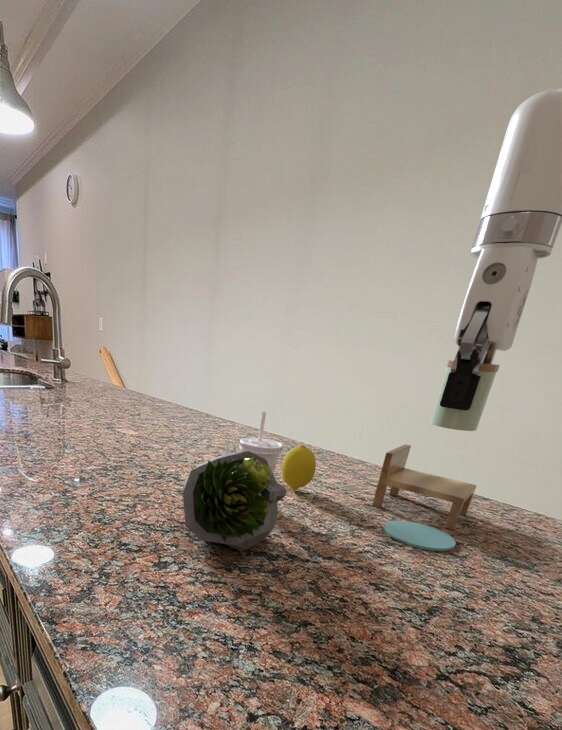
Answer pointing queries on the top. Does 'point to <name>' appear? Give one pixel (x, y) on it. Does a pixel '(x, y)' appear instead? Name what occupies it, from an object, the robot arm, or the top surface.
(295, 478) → the lemon
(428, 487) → the toy wooden bed
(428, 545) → the coaster
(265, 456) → the smoothie
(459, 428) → the spice jar
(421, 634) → the top surface
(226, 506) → the potted plant
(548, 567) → the top surface
